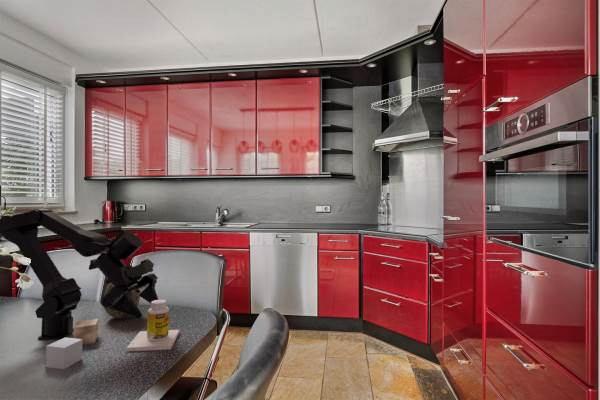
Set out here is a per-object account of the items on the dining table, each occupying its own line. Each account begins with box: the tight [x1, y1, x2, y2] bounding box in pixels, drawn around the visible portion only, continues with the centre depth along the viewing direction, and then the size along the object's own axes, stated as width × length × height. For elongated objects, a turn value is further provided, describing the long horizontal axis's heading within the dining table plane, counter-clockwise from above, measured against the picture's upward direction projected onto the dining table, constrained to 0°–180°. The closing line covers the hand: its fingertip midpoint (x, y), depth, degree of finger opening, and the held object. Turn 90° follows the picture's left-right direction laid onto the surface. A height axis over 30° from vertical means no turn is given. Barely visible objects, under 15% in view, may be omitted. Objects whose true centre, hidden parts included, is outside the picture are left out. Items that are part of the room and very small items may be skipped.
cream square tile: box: [126, 329, 180, 352], centre depth 91 cm, size 11×11×1 cm
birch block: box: [73, 318, 99, 345], centre depth 91 cm, size 5×5×5 cm
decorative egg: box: [103, 283, 141, 320], centre depth 109 cm, size 11×11×15 cm
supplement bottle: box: [146, 299, 170, 341], centre depth 91 cm, size 6×6×10 cm
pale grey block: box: [45, 336, 83, 370], centre depth 78 cm, size 5×5×5 cm
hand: (150, 311), depth 92 cm, fingers open, 9 cm apart
